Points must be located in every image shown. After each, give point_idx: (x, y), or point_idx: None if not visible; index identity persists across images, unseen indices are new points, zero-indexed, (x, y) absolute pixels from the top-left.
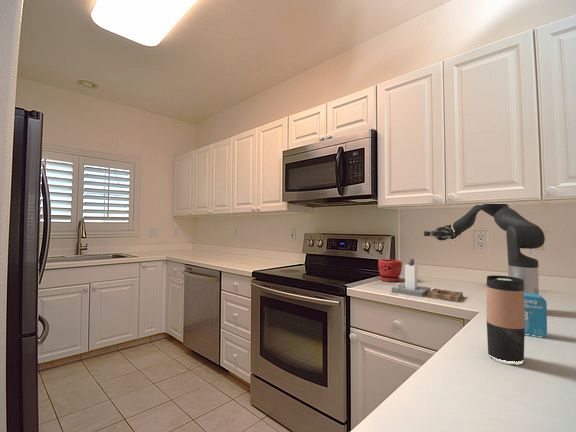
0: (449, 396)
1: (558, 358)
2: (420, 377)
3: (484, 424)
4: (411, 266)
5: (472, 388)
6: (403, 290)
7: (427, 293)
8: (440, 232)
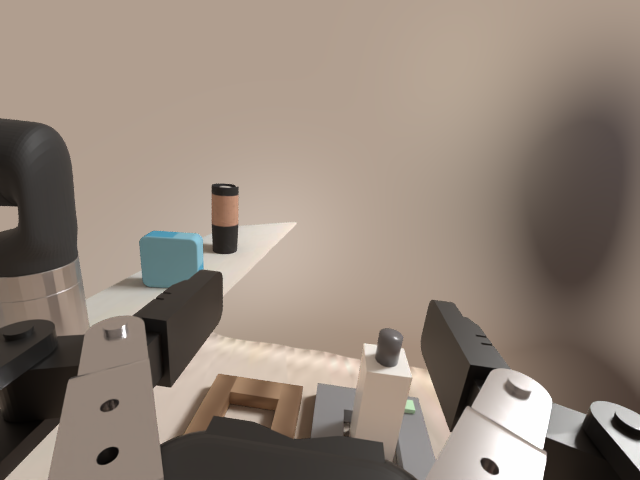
0: (269, 230)
1: None
2: (282, 234)
3: (257, 225)
4: (376, 346)
5: (257, 233)
6: None
7: (302, 387)
8: (248, 429)
